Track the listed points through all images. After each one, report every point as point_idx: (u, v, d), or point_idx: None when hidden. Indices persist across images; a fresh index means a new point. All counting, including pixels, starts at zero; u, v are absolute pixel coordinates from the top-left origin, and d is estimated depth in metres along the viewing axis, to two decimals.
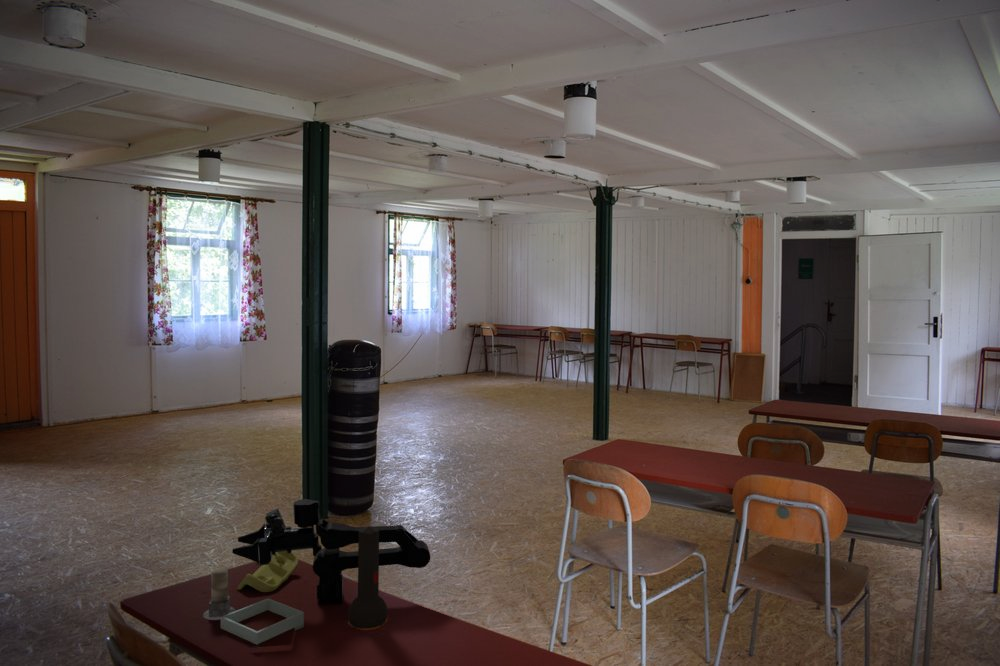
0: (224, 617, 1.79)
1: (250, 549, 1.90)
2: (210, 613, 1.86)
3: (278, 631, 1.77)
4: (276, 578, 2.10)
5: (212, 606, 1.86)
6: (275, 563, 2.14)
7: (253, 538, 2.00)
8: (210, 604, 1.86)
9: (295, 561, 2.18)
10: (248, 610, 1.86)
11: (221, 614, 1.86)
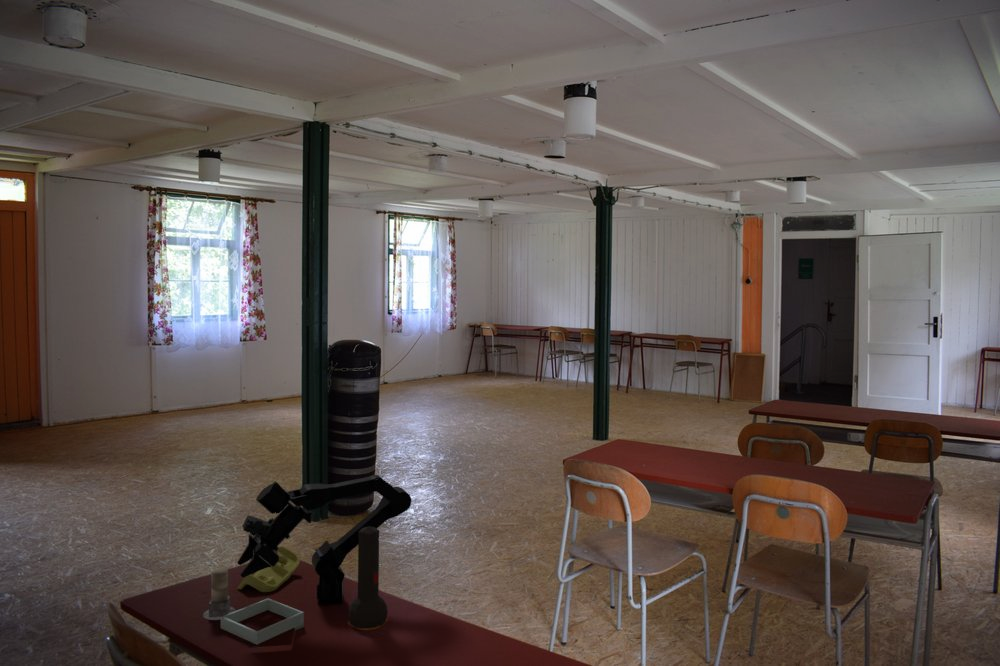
0: (224, 617, 1.79)
1: (254, 562, 1.86)
2: (210, 613, 1.86)
3: (278, 631, 1.77)
4: (276, 578, 2.10)
5: (212, 606, 1.86)
6: None
7: (250, 552, 1.95)
8: (210, 604, 1.86)
9: (297, 562, 2.18)
10: (248, 610, 1.86)
11: (221, 614, 1.86)
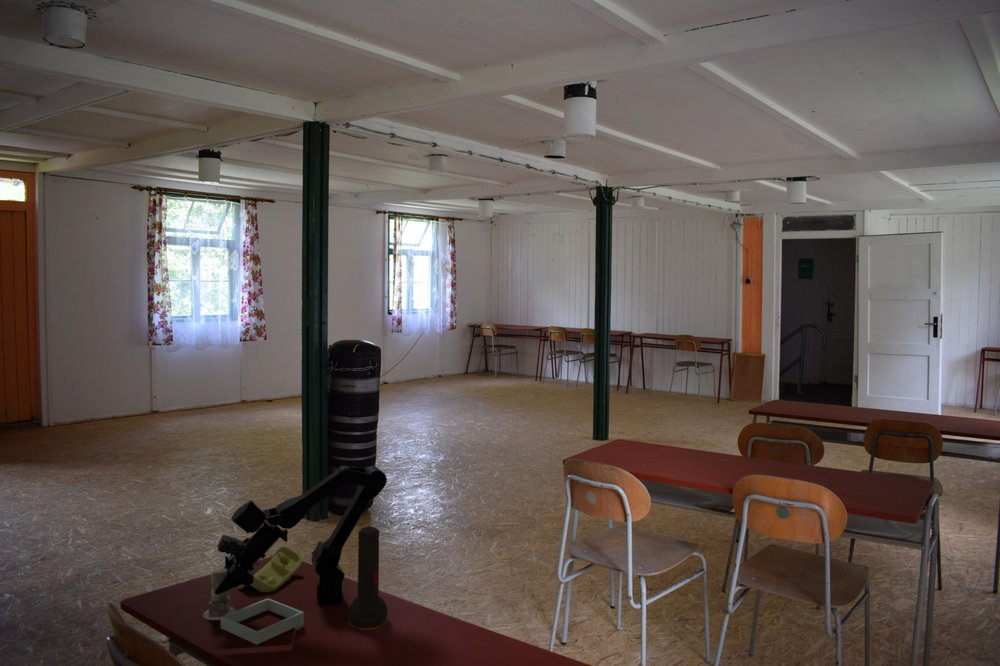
0: (224, 617, 1.79)
1: (228, 580, 1.86)
2: (210, 613, 1.86)
3: (278, 631, 1.77)
4: (277, 578, 2.10)
5: (212, 606, 1.86)
6: (278, 563, 2.14)
7: None
8: (210, 604, 1.86)
9: (299, 562, 2.17)
10: (248, 610, 1.86)
11: (221, 614, 1.86)
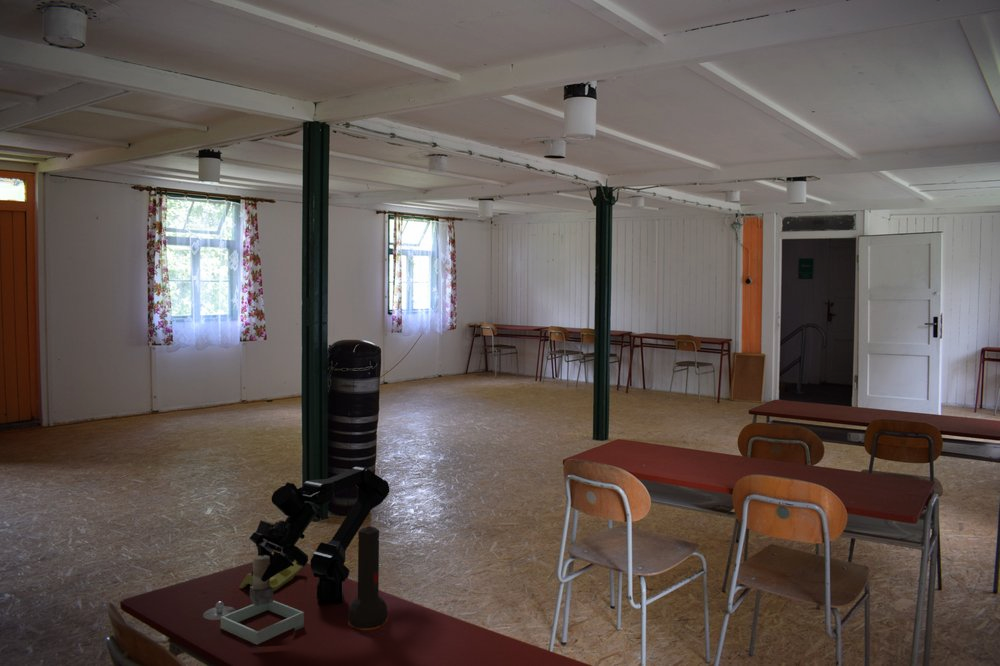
0: (224, 617, 1.79)
1: (276, 564, 1.80)
2: (256, 602, 1.78)
3: (278, 631, 1.77)
4: (279, 578, 2.10)
5: (258, 594, 1.78)
6: None
7: None
8: (256, 592, 1.78)
9: None
10: (248, 610, 1.86)
11: (267, 601, 1.80)
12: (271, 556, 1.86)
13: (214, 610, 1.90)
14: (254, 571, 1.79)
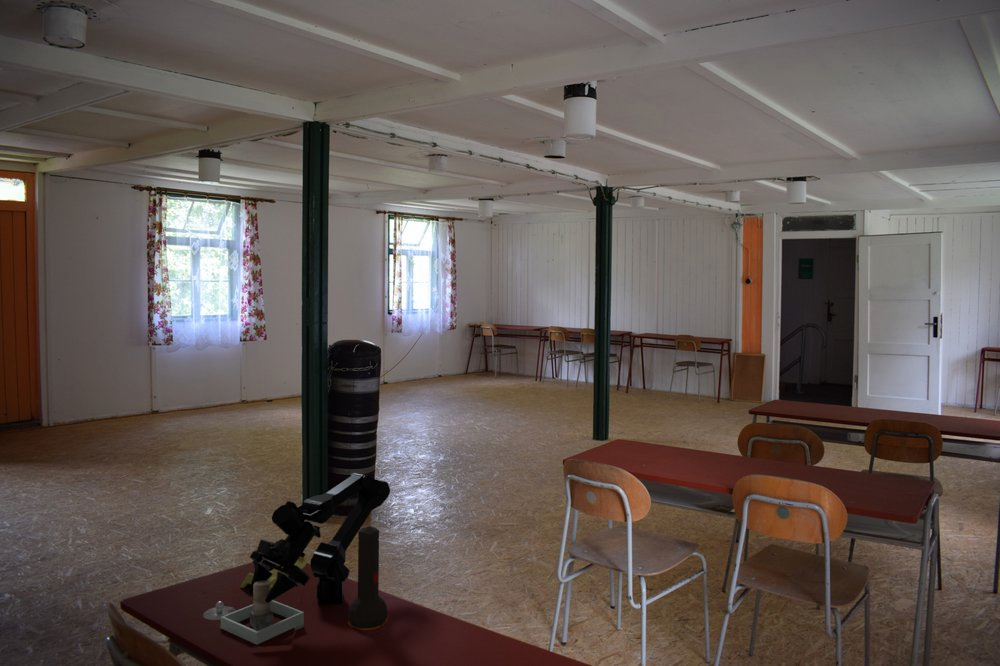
0: (224, 617, 1.79)
1: (280, 585, 1.79)
2: (257, 628, 1.79)
3: (278, 631, 1.77)
4: None
5: (259, 620, 1.79)
6: None
7: (259, 579, 1.85)
8: (257, 618, 1.78)
9: (304, 563, 2.17)
10: (248, 610, 1.86)
11: None
12: (268, 573, 1.87)
13: (214, 610, 1.90)
14: (254, 597, 1.79)
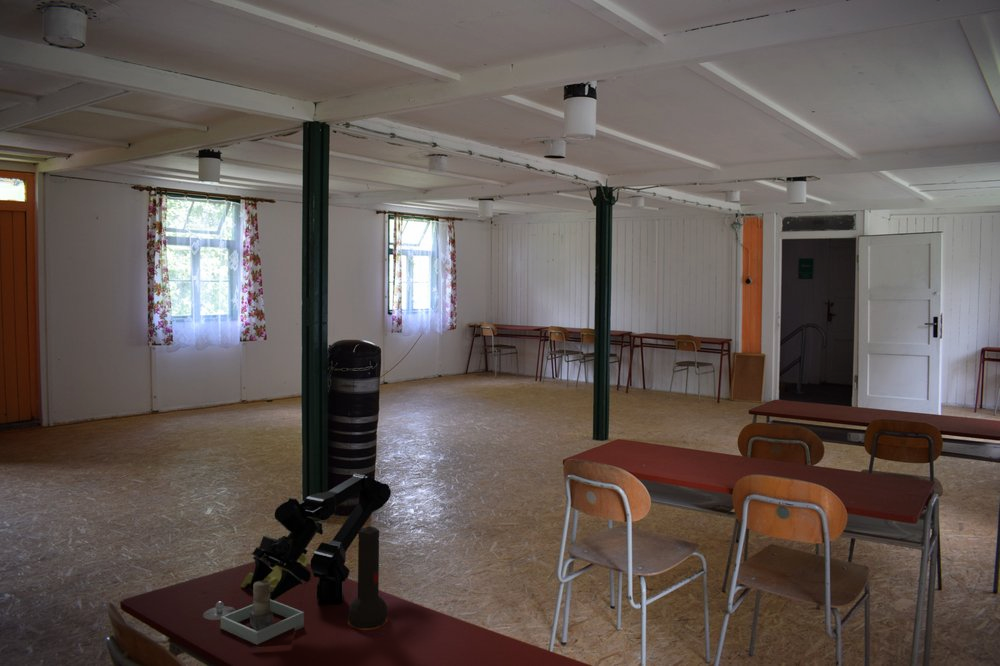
0: (224, 617, 1.79)
1: (284, 582, 1.79)
2: (257, 628, 1.79)
3: (278, 631, 1.77)
4: None
5: (259, 620, 1.79)
6: None
7: (260, 575, 1.86)
8: (257, 618, 1.78)
9: (305, 563, 2.16)
10: (248, 610, 1.86)
11: None
12: (268, 569, 1.88)
13: (214, 610, 1.90)
14: (254, 597, 1.79)
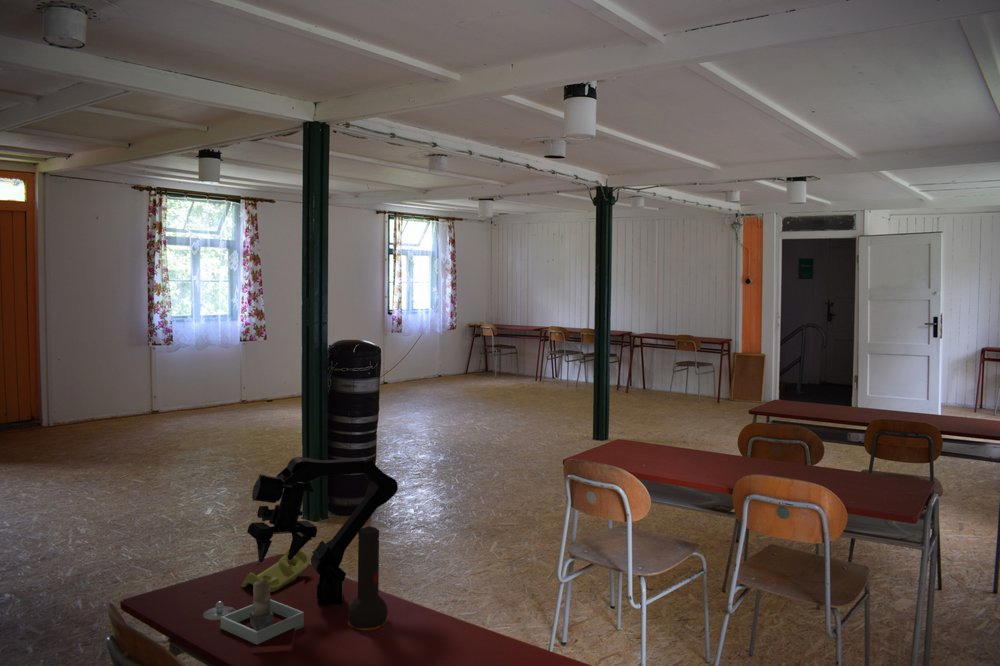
0: (224, 617, 1.79)
1: (260, 544, 1.89)
2: (257, 628, 1.79)
3: (278, 631, 1.77)
4: (282, 579, 2.10)
5: (259, 620, 1.79)
6: (285, 564, 2.14)
7: (294, 545, 1.97)
8: (257, 618, 1.78)
9: (306, 563, 2.16)
10: (248, 610, 1.86)
11: None
12: (300, 539, 1.96)
13: (214, 610, 1.90)
14: (254, 597, 1.79)
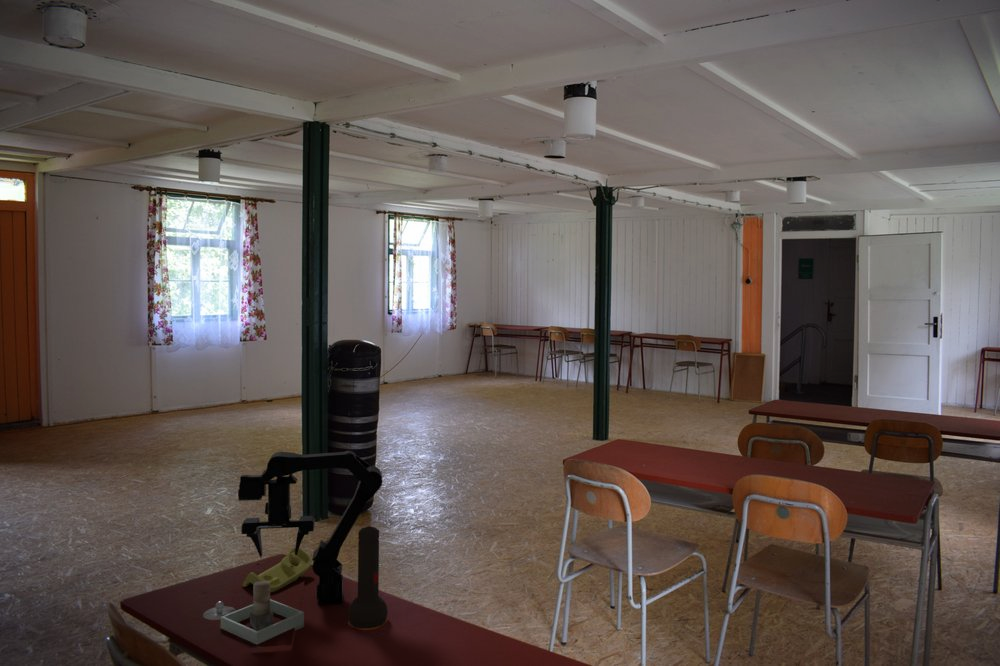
0: (224, 617, 1.79)
1: None
2: (257, 628, 1.79)
3: (278, 631, 1.77)
4: (283, 579, 2.10)
5: (259, 620, 1.79)
6: (287, 564, 2.14)
7: None
8: (257, 618, 1.78)
9: (308, 564, 2.16)
10: (248, 610, 1.86)
11: None
12: None
13: (214, 610, 1.90)
14: (254, 597, 1.79)
